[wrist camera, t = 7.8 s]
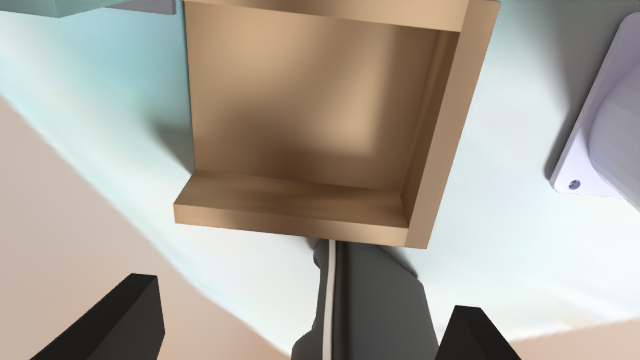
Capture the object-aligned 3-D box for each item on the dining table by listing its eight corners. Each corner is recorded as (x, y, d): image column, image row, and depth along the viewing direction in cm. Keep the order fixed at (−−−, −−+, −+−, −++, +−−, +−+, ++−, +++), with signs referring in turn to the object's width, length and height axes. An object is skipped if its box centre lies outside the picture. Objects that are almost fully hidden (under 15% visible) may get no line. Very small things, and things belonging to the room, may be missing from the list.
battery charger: (293, 251, 22) (257, 492, 12) (342, 212, 21) (345, 449, 11) (377, 314, 25) (404, 562, 15) (426, 283, 23) (493, 533, 13)
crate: (470, -9, 15) (501, 2, 12) (413, 206, 20) (426, 249, 17) (185, -41, 15) (148, -39, 12) (198, 183, 20) (175, 223, 17)
